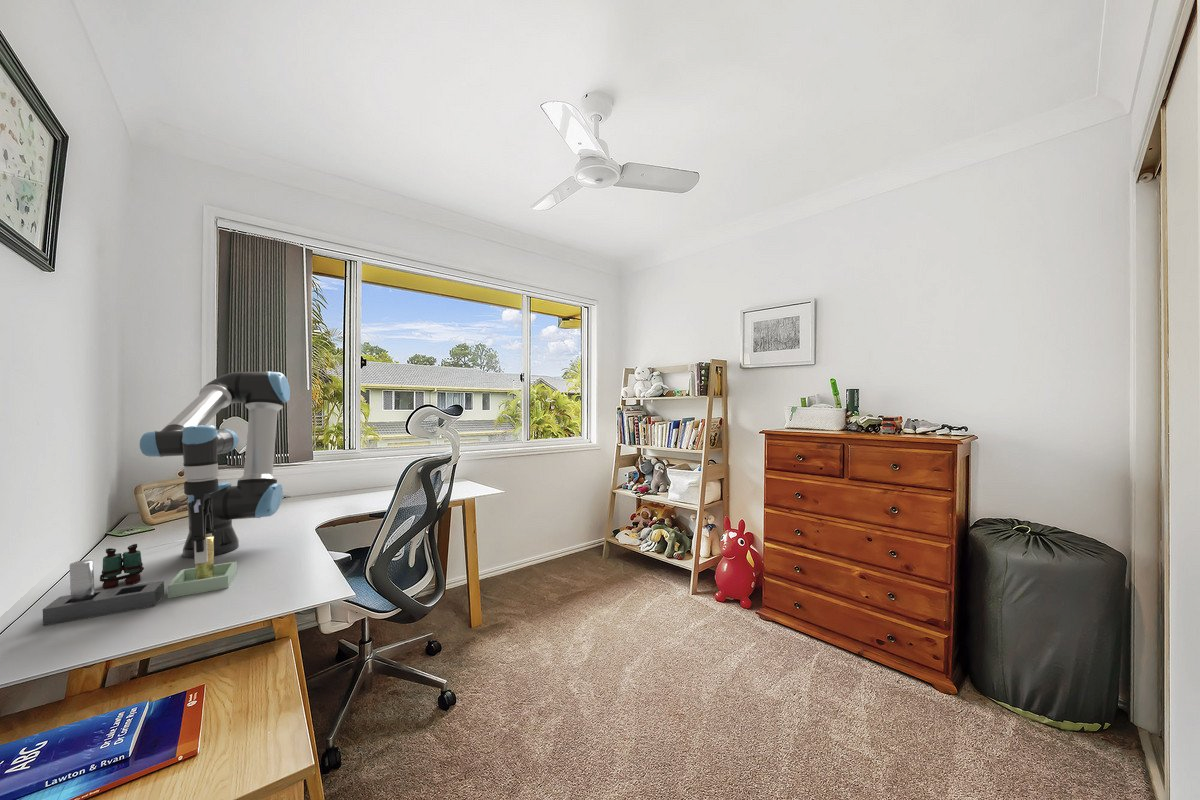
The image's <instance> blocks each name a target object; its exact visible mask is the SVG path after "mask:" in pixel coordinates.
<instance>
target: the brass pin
mask: <svg viewBox="0 0 1200 800" xmlns="http://www.w3.org/2000/svg"><path fill="white" fill-rule="evenodd" d="M206 539H207V554H208V562H204V563H198V564H195V568H196V580H199V579H205V578H211V577H214V565H215V564H214V563H215V562H214V561H215V560H214V559H215V557H214V556H215V555H214V536H212V535H207V536H206Z"/></svg>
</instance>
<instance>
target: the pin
mask: <svg viewBox="0 0 1200 800" xmlns="http://www.w3.org/2000/svg"><path fill="white" fill-rule="evenodd" d="M94 568H95V567H94V559H83V560H79V561H75V562H71V563H70V564H69V579H70V581H69V582H70V583H69V585H70V595H71V603H73V602H79V601H85V600H91V599H93V598H94V597H95V595H94V591H95V571H94Z"/></svg>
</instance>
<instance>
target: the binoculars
mask: <svg viewBox="0 0 1200 800" xmlns="http://www.w3.org/2000/svg"><path fill="white" fill-rule="evenodd" d="M137 548H138V543H133V544H131V545H129V546H128V547H127V550H128V551H124V552H123V553H121V552H119V553H116V552H117V549H116V548H106V549H105V553H106V555H105V556H103V557H102V570H101V574H100V575H99V582H101V583H102V587H101V589H102V590H105V589H111V588H118V587H119V584H120V581H122V580H124V583H125V586H130V585H136V584H138V583H139V582H140V581H141V580H142V577H141V573H143V571H144V569H145V567H144V566H143V565H144V563H143V560H142V552H141V550H138V549H137ZM122 572H123V573H124V574H126V575H121V574H122ZM119 575H120V576H119ZM117 576H118V577H117Z"/></svg>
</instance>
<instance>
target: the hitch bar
mask: <svg viewBox="0 0 1200 800" xmlns="http://www.w3.org/2000/svg"><path fill="white" fill-rule="evenodd" d="M165 592H166V591H165V580H164V579H163V580H158V581H157V580H156V581H151V582H145V583H143V582H142V583H136V584H132V585H125V586H118V587H116V588H111V589H101V590H94V595H95V597H94V598H93V599H91V600H85V601H79V602H73V603H71V594H69V595H62V596H58V597H57V598H56V599H54V600H53V601H51V603H49V604H48V605H46V606H45V607H43V609H42V627H43V626H44V627H45V626H50V625H57V624H63V623H67V622H73V621H78V620H84V619H88V618H89V619H90V618H95V617H101V616H105V615H106V616H107V615H113V614H119V613H123V612H124V613H125V612H130V611H135V610H141V609H147V608H151V607H152V608H153V607H155V606H156V605H157V604H158V603H159V602H160V601H161V600H162V598H163V597H164V596H165V594H166V593H165Z"/></svg>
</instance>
